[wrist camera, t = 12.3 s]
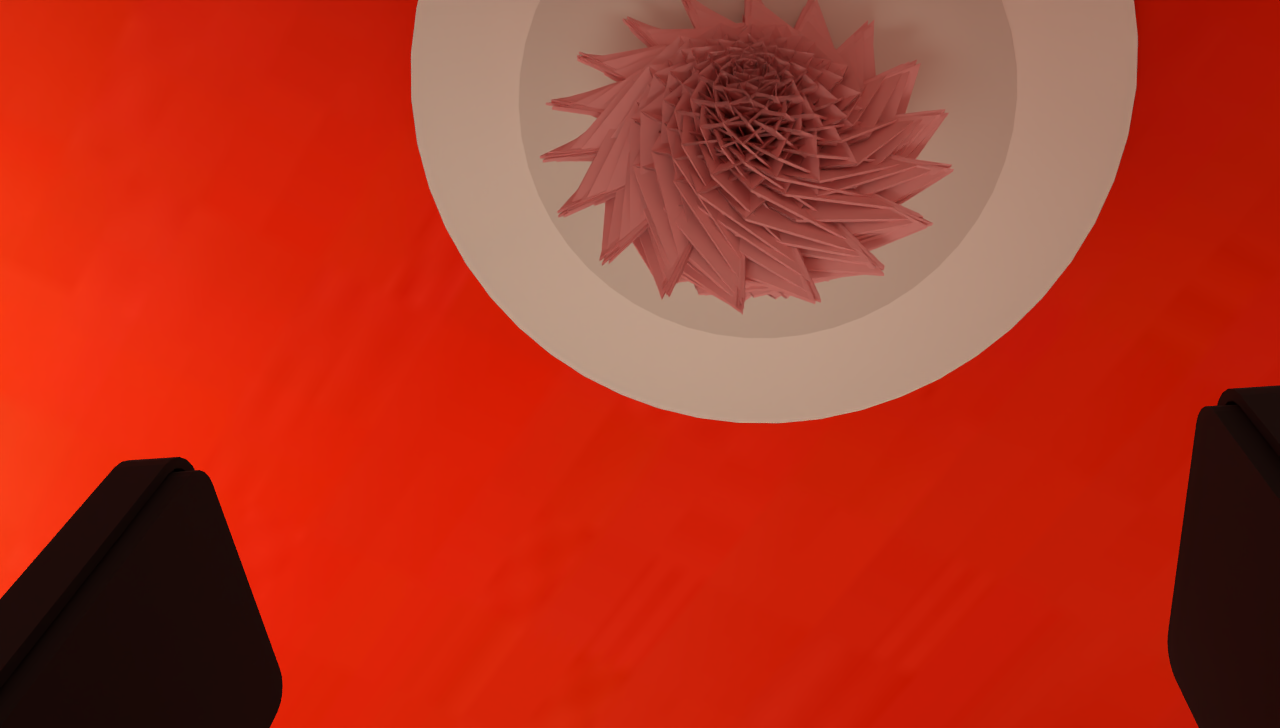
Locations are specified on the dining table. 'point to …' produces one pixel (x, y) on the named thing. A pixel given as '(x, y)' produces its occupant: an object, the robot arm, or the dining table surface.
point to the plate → (850, 306)
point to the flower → (751, 153)
